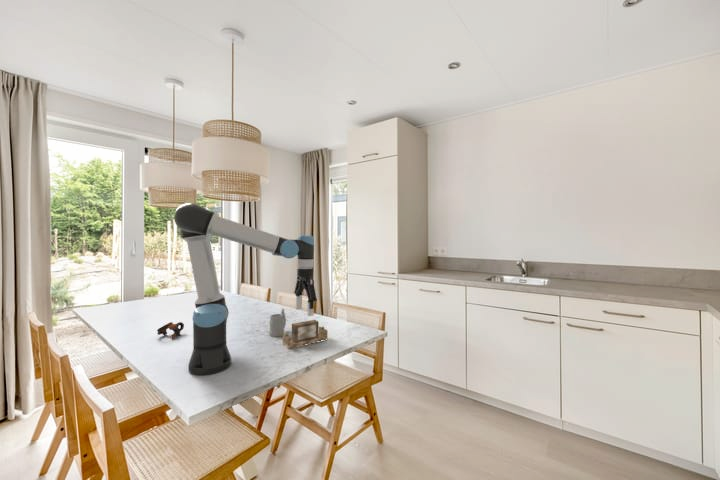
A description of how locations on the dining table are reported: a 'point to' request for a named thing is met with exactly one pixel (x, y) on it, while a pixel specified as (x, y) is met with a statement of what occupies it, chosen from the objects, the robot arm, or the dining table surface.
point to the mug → (277, 324)
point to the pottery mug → (171, 327)
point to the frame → (304, 331)
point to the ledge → (290, 344)
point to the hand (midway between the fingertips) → (304, 312)
